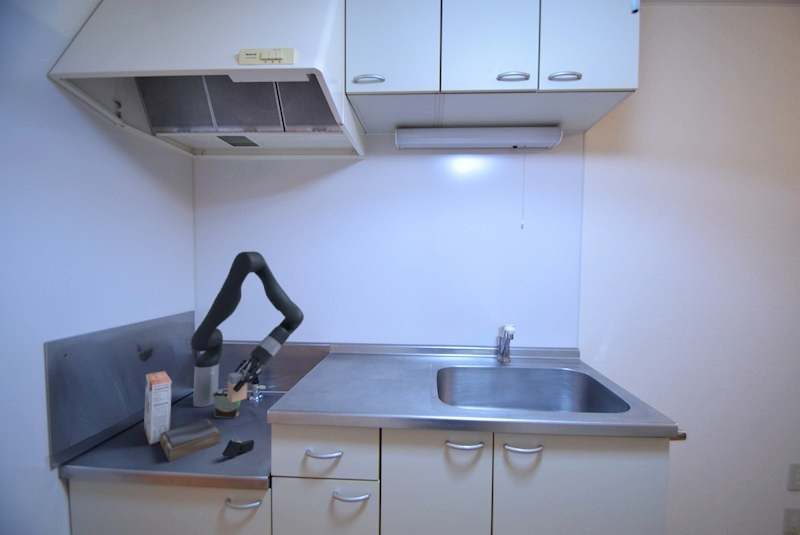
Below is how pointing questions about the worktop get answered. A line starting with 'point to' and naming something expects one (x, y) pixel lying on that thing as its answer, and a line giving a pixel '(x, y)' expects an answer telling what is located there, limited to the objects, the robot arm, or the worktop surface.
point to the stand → (189, 439)
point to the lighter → (237, 447)
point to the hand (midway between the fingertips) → (232, 388)
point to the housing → (232, 381)
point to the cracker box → (157, 406)
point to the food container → (225, 405)
